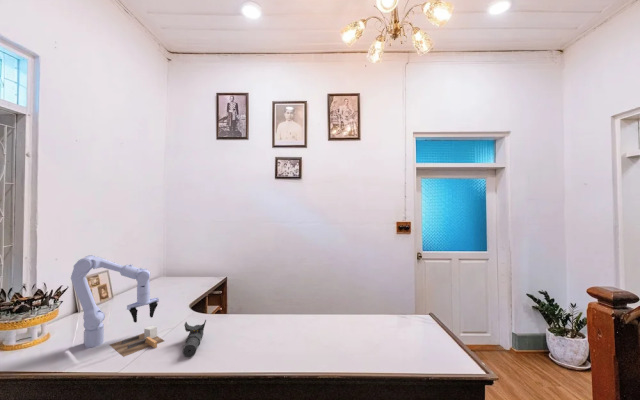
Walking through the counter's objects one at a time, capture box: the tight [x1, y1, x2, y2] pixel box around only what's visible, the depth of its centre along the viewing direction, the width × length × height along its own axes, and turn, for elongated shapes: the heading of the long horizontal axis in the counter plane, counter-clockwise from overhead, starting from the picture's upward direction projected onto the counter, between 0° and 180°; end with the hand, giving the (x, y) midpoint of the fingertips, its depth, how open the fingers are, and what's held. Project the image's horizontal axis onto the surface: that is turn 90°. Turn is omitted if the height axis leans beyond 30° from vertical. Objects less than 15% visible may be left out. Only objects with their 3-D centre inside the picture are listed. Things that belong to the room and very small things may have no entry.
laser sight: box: [182, 319, 207, 358], centre depth 140 cm, size 10×22×10 cm, turn 14°
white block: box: [143, 325, 158, 339], centre depth 146 cm, size 4×4×5 cm
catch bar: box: [146, 337, 158, 349], centre depth 138 cm, size 9×1×2 cm, turn 53°
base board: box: [109, 332, 165, 358], centre depth 140 cm, size 18×18×2 cm
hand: (143, 319), depth 148 cm, fingers open, 7 cm apart
